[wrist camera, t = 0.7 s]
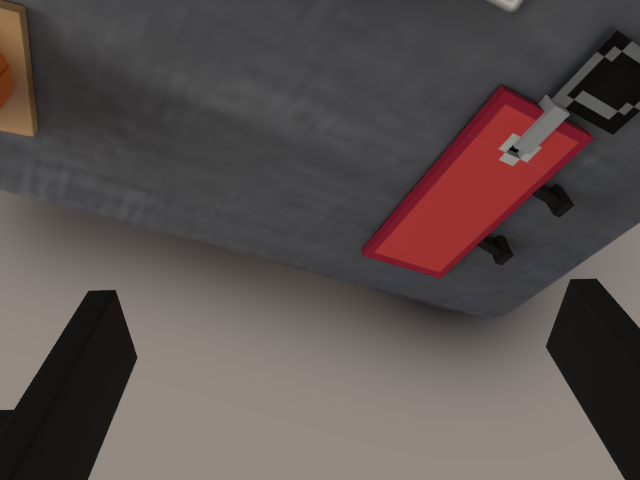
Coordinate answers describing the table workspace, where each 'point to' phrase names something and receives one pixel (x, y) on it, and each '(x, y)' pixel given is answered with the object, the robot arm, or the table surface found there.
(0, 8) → the peg stand
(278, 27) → the table surface
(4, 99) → the orange hollow tube
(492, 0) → the robot figure
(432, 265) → the red board with handle
